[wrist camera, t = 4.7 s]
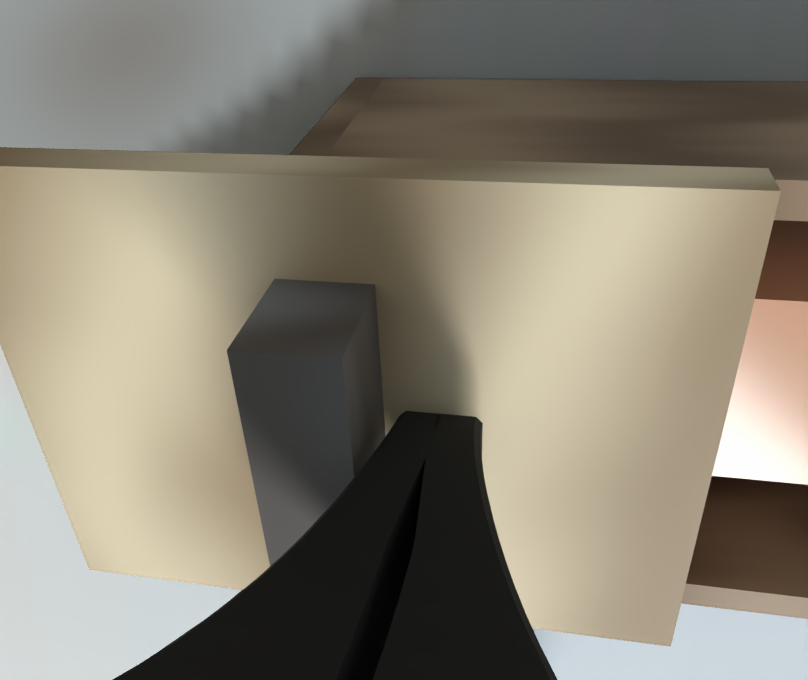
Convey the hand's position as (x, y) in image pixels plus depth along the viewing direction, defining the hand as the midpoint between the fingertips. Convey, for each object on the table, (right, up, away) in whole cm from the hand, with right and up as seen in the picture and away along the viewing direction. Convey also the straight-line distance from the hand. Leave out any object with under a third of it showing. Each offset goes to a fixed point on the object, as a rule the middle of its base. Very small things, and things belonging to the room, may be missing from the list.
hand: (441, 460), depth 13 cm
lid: (-2, +1, +1) cm, 2 cm away
